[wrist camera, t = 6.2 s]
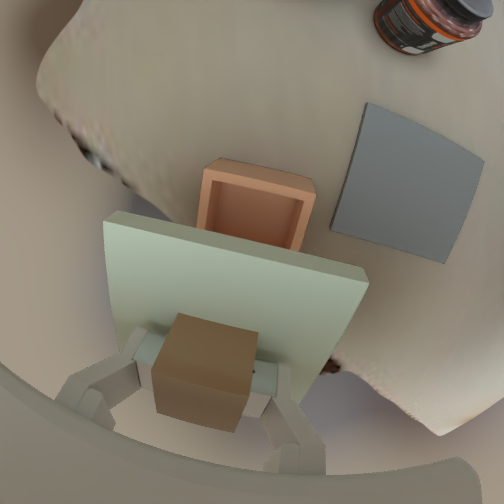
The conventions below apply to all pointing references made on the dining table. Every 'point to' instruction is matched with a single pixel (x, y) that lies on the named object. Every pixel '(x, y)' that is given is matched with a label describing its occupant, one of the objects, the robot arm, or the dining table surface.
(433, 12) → the supplement bottle
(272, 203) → the peach storage bin
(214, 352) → the lid
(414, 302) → the dining table surface
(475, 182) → the mat
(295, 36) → the dining table surface
